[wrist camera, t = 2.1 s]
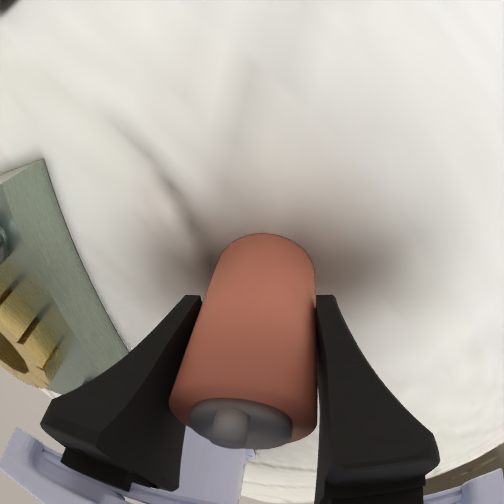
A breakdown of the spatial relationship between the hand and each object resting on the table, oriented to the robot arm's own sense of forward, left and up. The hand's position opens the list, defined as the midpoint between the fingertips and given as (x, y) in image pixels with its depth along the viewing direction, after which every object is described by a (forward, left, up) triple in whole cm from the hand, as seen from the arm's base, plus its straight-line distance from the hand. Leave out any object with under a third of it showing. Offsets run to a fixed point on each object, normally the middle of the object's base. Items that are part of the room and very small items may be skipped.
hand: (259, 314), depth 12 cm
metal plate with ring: (-2, +17, -2) cm, 17 cm away
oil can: (0, 0, -2) cm, 2 cm away
